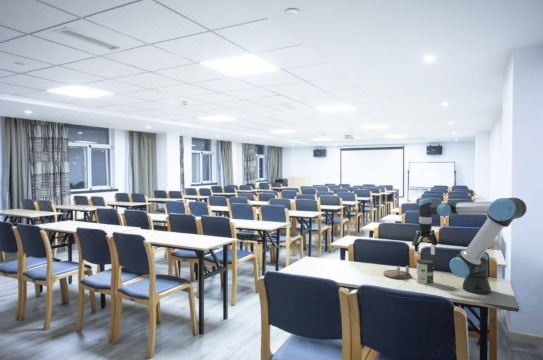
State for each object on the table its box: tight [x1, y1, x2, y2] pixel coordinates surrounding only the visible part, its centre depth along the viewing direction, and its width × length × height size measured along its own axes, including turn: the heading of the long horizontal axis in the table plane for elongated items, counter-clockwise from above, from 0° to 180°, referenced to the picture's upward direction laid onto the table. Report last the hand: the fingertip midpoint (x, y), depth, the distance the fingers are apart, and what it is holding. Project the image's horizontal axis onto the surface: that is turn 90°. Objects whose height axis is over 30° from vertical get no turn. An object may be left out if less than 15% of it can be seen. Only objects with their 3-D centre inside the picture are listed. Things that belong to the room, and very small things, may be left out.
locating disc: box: [382, 265, 412, 281], centre depth 253 cm, size 18×18×8 cm
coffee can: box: [416, 258, 435, 286], centre depth 238 cm, size 10×10×14 cm
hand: (425, 255), depth 238 cm, fingers open, 13 cm apart
